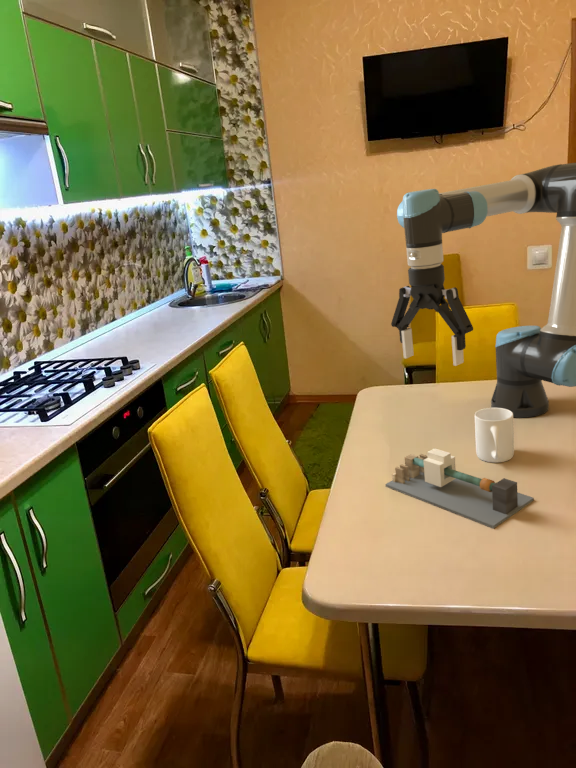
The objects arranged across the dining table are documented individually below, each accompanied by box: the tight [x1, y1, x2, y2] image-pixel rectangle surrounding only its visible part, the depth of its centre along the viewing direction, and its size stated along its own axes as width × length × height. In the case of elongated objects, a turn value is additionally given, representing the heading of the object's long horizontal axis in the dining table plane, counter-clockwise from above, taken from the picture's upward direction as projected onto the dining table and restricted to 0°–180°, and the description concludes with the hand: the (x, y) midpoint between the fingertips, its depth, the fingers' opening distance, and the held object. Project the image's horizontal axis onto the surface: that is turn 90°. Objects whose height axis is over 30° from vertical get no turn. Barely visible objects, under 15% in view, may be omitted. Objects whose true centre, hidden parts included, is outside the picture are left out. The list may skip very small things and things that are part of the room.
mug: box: [474, 407, 515, 464], centre depth 144 cm, size 9×12×11 cm
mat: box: [385, 472, 535, 530], centre depth 133 cm, size 14×28×1 cm, turn 38°
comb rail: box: [391, 453, 518, 514], centre depth 132 cm, size 10×27×6 cm, turn 38°
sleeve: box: [423, 447, 457, 487], centre depth 135 cm, size 5×4×7 cm
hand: (432, 360), depth 138 cm, fingers open, 13 cm apart
